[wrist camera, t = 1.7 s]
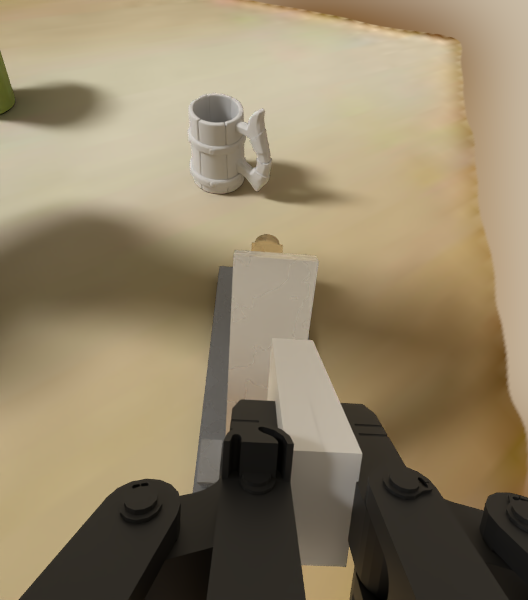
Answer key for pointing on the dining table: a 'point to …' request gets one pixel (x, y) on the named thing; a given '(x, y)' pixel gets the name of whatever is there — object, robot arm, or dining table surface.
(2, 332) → the dining table surface
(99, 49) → the dining table surface
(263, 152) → the mug
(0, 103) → the plant pot
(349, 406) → the robot arm
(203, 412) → the base
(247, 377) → the white flat bar
